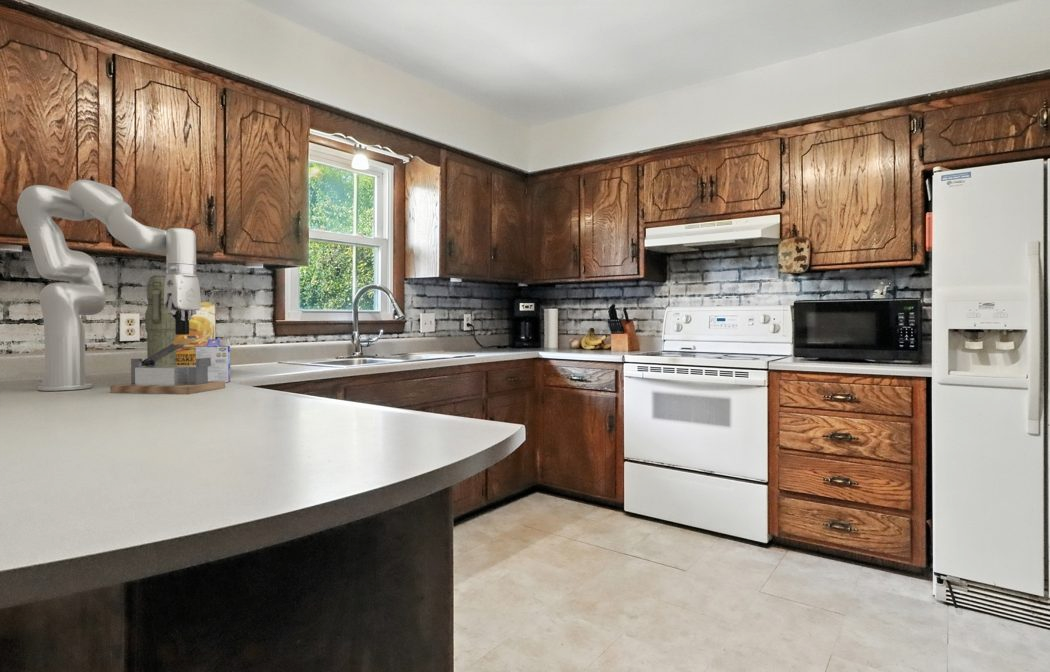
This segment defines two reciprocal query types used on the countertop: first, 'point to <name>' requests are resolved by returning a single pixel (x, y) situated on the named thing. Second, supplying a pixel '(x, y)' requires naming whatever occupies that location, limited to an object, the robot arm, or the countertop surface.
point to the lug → (199, 371)
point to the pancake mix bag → (198, 333)
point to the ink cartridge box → (216, 360)
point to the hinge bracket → (137, 363)
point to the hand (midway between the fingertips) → (182, 334)
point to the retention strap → (169, 349)
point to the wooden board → (167, 388)
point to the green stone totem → (159, 322)
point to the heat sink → (162, 375)
